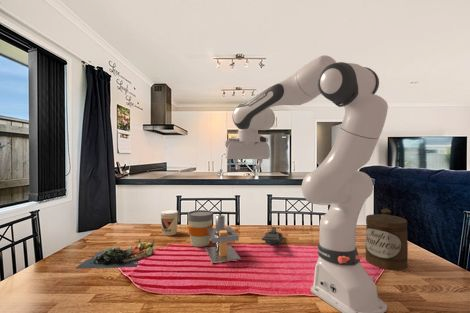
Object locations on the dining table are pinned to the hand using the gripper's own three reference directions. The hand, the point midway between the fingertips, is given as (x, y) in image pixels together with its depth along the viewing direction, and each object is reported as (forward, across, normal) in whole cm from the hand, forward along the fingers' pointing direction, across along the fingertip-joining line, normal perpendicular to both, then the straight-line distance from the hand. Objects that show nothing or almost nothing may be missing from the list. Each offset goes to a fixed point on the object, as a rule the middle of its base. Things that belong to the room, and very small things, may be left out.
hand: (247, 169), depth 116 cm
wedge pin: (+36, -12, -3) cm, 38 cm away
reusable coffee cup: (+37, -19, +16) cm, 45 cm away
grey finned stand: (+37, -12, -1) cm, 39 cm away
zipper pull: (+37, +15, +6) cm, 41 cm away
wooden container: (+37, +51, -26) cm, 68 cm away
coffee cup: (+37, -33, +36) cm, 61 cm away
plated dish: (+38, -52, +9) cm, 65 cm away
